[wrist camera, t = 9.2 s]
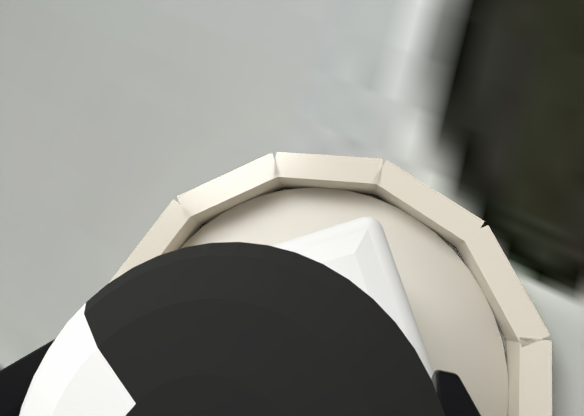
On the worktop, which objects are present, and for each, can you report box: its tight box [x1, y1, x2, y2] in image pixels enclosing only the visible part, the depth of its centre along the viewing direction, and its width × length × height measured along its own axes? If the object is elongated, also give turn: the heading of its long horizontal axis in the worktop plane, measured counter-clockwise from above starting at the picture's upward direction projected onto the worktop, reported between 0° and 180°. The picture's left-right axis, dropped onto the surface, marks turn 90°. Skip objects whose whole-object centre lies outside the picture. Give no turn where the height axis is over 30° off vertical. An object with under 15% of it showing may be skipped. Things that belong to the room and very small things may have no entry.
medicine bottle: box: [19, 217, 445, 416], centre depth 11 cm, size 7×7×12 cm
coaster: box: [109, 152, 552, 416], centre depth 17 cm, size 16×16×2 cm
